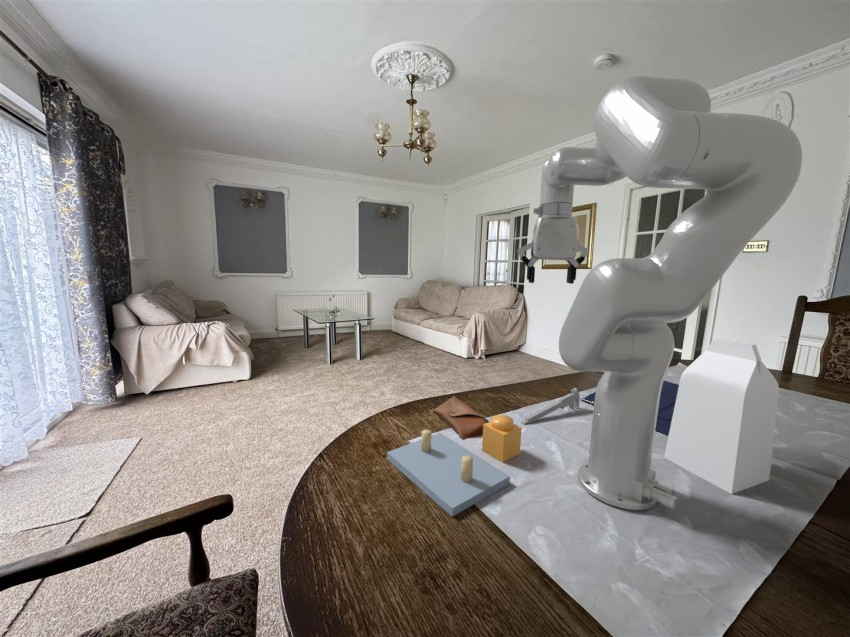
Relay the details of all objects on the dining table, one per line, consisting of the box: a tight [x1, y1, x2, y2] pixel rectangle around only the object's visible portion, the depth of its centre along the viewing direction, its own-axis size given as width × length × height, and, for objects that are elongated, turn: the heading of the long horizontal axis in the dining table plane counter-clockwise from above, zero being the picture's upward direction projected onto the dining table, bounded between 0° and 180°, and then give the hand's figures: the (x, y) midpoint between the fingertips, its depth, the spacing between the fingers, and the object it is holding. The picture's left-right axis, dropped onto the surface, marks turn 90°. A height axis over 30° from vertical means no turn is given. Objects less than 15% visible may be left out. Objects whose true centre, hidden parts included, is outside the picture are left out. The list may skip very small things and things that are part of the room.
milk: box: [663, 337, 780, 495], centre depth 66 cm, size 12×12×26 cm
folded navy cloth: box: [582, 380, 679, 436], centre depth 98 cm, size 24×30×4 cm
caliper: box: [521, 387, 581, 425], centre depth 91 cm, size 21×1×6 cm, turn 119°
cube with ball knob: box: [481, 414, 522, 463], centre depth 72 cm, size 6×6×7 cm
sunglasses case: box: [431, 395, 490, 440], centre depth 87 cm, size 18×7×7 cm, turn 25°
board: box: [386, 429, 511, 517], centre depth 66 cm, size 20×14×6 cm
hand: (550, 283), depth 87 cm, fingers open, 9 cm apart
